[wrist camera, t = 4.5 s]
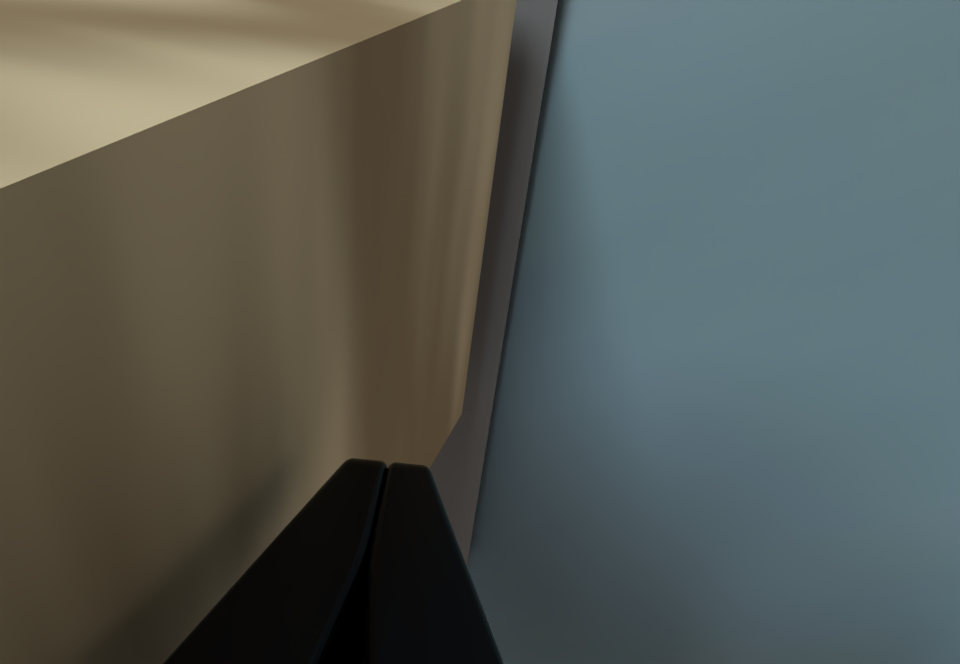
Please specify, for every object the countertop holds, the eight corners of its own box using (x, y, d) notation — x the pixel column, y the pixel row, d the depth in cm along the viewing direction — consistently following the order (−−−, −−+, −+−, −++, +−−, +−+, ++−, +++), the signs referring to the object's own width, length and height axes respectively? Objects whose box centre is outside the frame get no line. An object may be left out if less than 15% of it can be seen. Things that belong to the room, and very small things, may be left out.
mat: (652, -609, 9) (658, -624, 8) (467, 553, 20) (466, 566, 19) (-728, -832, 8) (-781, -859, 8) (-122, 493, 19) (-134, 505, 19)
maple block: (519, -24, 11) (-320, 317, 3) (461, 414, 15) (86, 1043, 7) (268, -70, 11) (-951, 82, 3) (283, 357, 16) (-233, 860, 8)
